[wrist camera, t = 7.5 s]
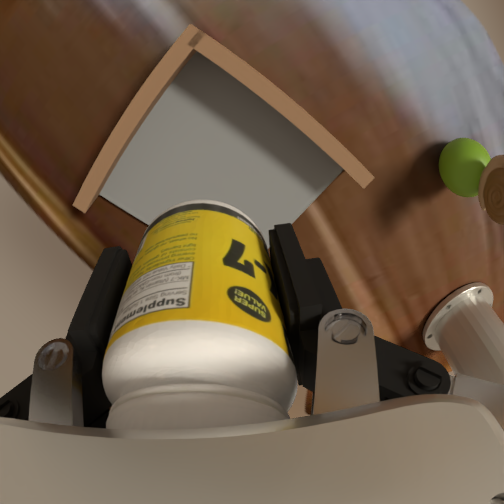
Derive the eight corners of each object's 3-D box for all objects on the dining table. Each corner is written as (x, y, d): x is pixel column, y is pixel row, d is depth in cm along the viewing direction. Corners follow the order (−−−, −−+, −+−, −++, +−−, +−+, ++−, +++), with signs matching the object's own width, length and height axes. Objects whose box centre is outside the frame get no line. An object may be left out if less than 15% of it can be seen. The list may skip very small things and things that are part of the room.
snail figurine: (474, 125, 24) (564, 173, 14) (462, 183, 28) (539, 246, 18) (434, 117, 24) (530, 165, 14) (423, 181, 27) (503, 250, 18)
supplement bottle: (285, 274, 13) (340, 482, 6) (184, 315, 14) (176, 510, 7) (231, 171, 10) (261, 420, 3) (117, 231, 11) (36, 452, 4)
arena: (355, 160, 26) (374, 177, 23) (242, 278, 32) (245, 306, 28) (195, 29, 19) (190, 23, 16) (89, 184, 25) (72, 205, 21)
